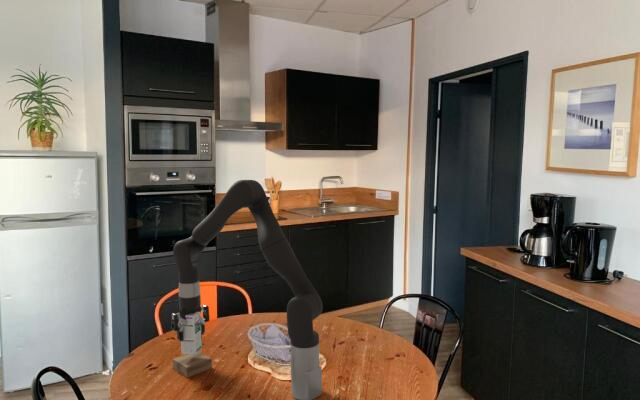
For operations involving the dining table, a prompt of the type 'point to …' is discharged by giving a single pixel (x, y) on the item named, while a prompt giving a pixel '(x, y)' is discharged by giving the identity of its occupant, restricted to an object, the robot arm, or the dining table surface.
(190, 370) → the walnut base block
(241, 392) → the dining table surface
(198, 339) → the syrup box
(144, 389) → the dining table surface
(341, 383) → the dining table surface
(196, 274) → the robot arm
